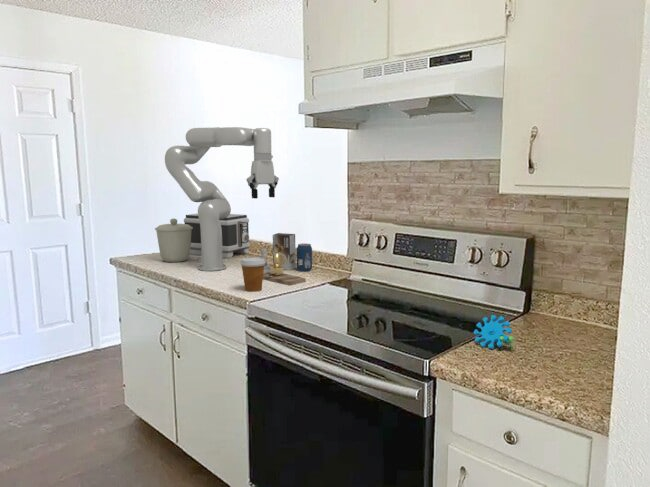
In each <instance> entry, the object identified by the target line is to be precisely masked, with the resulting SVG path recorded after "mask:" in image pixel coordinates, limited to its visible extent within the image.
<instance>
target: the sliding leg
mask: <svg viewBox="0 0 650 487" xmlns="http://www.w3.org/2000/svg"><path fill="white" fill-rule="evenodd" d="M270 272H271V274H269V276H270V275H281V274H283V273H284V270H283V267H280V253H274V267H273V266H272V267H271V268H270Z"/></svg>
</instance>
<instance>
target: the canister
mask: <svg viewBox="0 0 650 487" xmlns="http://www.w3.org/2000/svg"><path fill="white" fill-rule="evenodd" d="M169 222H170V223H165V224H160V225H157V227H155V228H154V230H155V231H156V238H157V244H158V248H159V249H158V250H159V254H160V257H161V260H162V261H164V262H167V263H180V262H181V263H182V262H184V261H187V260H188V259H189V257H190V255H191V254H190V246H191V231H192V229H193V227H191V226H190V225H188V224H185V223H178V219H177V218H175V217H174V218H173V217H172V218H171V219H170V220H169Z"/></svg>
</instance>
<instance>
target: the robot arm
mask: <svg viewBox="0 0 650 487" xmlns="http://www.w3.org/2000/svg"><path fill="white" fill-rule="evenodd" d="M185 141H186V142H187V144H188V145H173V146H171V147H169V148H167V149H166V152H165V154H164V165H165V167H166V169H167V172H169V174H170V176H172V178H173V179H174V180H175V181H176V183H177V184H178V185H179V186H180V189H181V190H182V191H183V192H184V194H185V195H186V196H187V198H189V200H190V201H191V202H194V203H200V204H199V205H198V207H197V214H198V217H199V221H200V231H201V256H200V258H199V259H198V262H199V263H200V265H198V270H199V271H202V272H203V271H205V272H210V271H211V272H214V271H223V270H225V269H226V268H227V265H226V264H224V260H223V259H224V258H223V252H222V228H221V224H220V222H219V219H224V218H226V217H228V216H229V214H231V210H232V207H231V205H230V203H229V201H228V200H227V198H226V197H225V195H223V193H222V191H221V190H220V189H219V188H218V186H216V185H215V184H214V183H213V182H211V181H208V180H203V181H202V180H200V179H199V178H198V176H197V175H196V174H195V173H194V171H192V170H191V169H190V168H189V167H188V166H186V165H194V164H197V163H198V162H199V161H200V160H202V158H203V157H204V156H205V155H206V154H207V152H208V151H209V150H210V149H211V148H220V147H222V146H244V147H253V160H252V161H251V167H250V175H249V176H248V177H247V178H246V182H247V185H248V187H249V188H250V189H251V199H258V198H259V196H258V193H259V192H258V186H259V185H268V197H269V198H275V197H276V196H275V195H276V194H275V191H276V190H275V189H276V188H277V185H278V184H279V181H280V180H279V179H280V178H279V177H278V176H276V175H275V169H274V163H273V161H272V159H273V158H274V156H273V155H272V130H271V129H270V128H268V127H267V128H265V127H257V128H248V127H241V126H235V127H234V126H232V127H230V126H228V127H219V126H218V127H193V128H190V129H189V130H187V132H186V133H185Z"/></svg>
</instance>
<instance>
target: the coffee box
mask: <svg viewBox="0 0 650 487" xmlns="http://www.w3.org/2000/svg"><path fill="white" fill-rule="evenodd" d="M274 253H280V267H283V271H284V270H286V271H293V270H294V269H297V251H296V233H286V232H285V233H283V232H282V233H281V232H278V233H274V234H272V259H273V260H272V263H273V264H272V265H273V266H272V267H274Z"/></svg>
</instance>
